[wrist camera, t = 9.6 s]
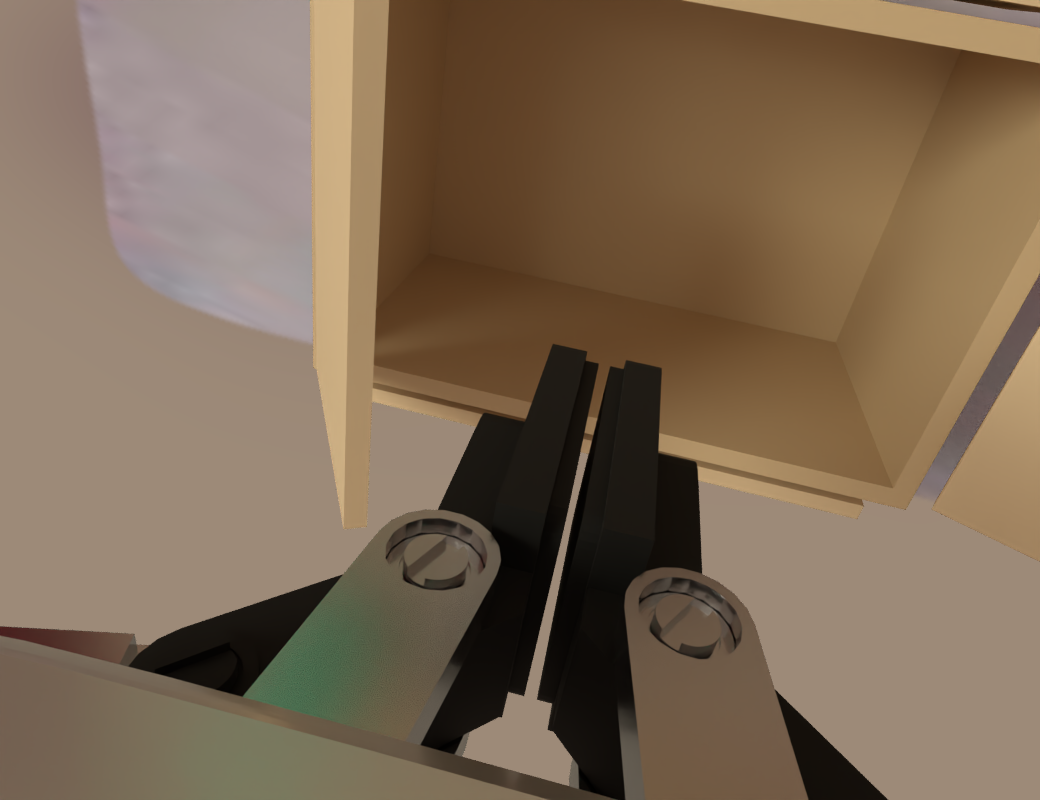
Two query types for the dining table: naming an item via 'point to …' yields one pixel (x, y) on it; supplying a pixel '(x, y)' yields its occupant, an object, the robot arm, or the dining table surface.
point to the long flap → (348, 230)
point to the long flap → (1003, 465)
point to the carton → (711, 221)
